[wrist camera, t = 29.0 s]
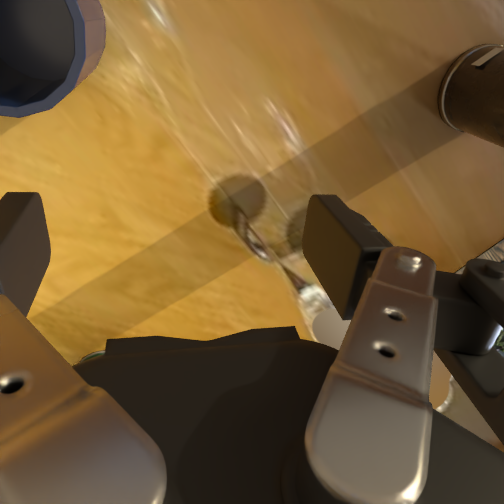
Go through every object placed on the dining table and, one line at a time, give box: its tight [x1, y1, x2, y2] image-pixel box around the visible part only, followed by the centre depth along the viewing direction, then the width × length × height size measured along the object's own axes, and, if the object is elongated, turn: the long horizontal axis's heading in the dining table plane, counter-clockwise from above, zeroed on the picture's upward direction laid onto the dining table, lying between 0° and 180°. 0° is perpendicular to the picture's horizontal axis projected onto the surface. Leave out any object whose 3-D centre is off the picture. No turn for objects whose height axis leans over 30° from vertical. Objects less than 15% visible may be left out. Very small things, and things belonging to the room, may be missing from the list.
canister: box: [0, 0, 106, 118], centre depth 29 cm, size 11×11×12 cm
